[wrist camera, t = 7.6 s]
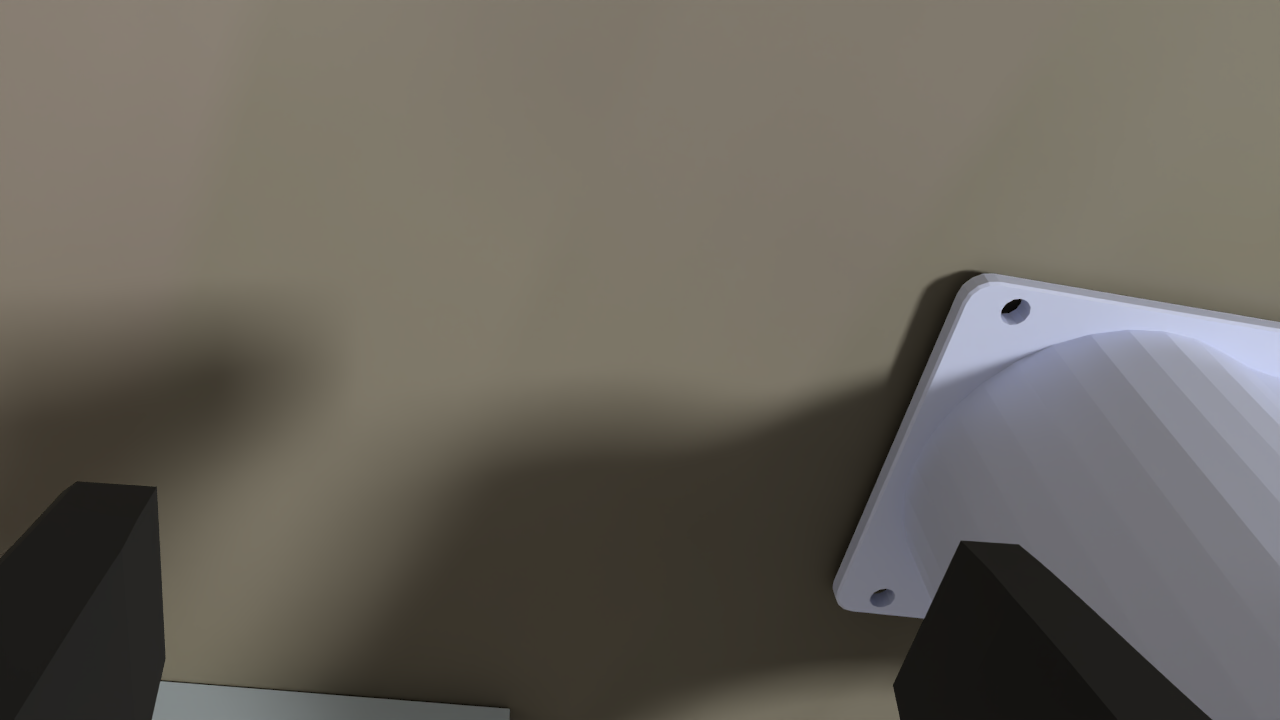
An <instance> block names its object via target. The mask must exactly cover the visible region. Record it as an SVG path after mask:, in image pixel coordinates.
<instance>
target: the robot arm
mask: <svg viewBox="0 0 1280 720" xmlns="http://www.w3.org/2000/svg"><path fill="white" fill-rule="evenodd" d="M1014 299H1022V300H1021V304H1020V305H1019V306H1018V307H1017V309H1015V310H1014V311H1012V312H1010V313H1002V314H1001V311H1002V309H1003V307H1004V306H1005V305H1006V304H1007V303H1008V302H1010V301H1012V300H1014ZM880 589H886V590H885V591H883V592H881V593H876V594H873V593H874V592H876V591H878V590H880ZM833 591H834V594H835V597H836V600H837V603H838V605H839V606H841V607H842V608H843V609H846V610H849V611H855V612H864V613H874V614H884V615H894V616H903V617H913V618H923V619H924V620H923V622H922V624H921V626H920V629H919V631H918V633H917V635H916V637H915V639H914V641H913V643H912V646H911V648H910V650H909V652H908V654H907V656H906V658H905V661H904V663H903V665H902V667H901V669H900V671H899V673H898V676H897V678H896V680H895V682H894V684H893V687H894V692H895V697H896V701H897V706H898V711H899V716H900V720H1280V322H1276V321H1270V320H1264V319H1259V318H1253V317H1247V316H1241V315H1235V314H1229V313H1223V312H1217V311H1212V310H1206V309H1200V308H1194V307H1188V306H1182V305H1176V304H1170V303H1165V302H1159V301H1153V300H1147V299H1141V298H1135V297H1129V296H1123V295H1118V294H1112V293H1106V292H1100V291H1094V290H1088V289H1082V288H1076V287H1070V286H1065V285H1059V284H1053V283H1047V282H1041V281H1035V280H1029V279H1023V278H1018V277H1012V276H1006V275H1000V274H994V273H990V274H980V275H978V276H975V277H972V278H971V279H970V280H968V281H967V282H966V283H964V284H963V285H962V287H961V288H960V290H959V291H958V293H957V295H956V297H955V299H954V302H953V304H952V306H951V309H950V311H949V313H948V316H947V318H946V320H945V323H944V325H943V327H942V330H941V332H940V334H939V337H938V339H937V341H936V344H935V346H934V348H933V351H932V353H931V355H930V358H929V360H928V362H927V365H926V367H925V369H924V372H923V374H922V376H921V379H920V381H919V383H918V386H917V388H916V390H915V393H914V395H913V397H912V400H911V402H910V404H909V407H908V409H907V411H906V414H905V416H904V418H903V421H902V423H901V425H900V428H899V430H898V432H897V435H896V437H895V439H894V442H893V444H892V446H891V449H890V451H889V453H888V456H887V458H886V460H885V463H884V465H883V467H882V470H881V472H880V474H879V477H878V479H877V481H876V484H875V486H874V488H873V491H872V493H871V495H870V498H869V500H868V502H867V505H866V507H865V509H864V512H863V514H862V516H861V519H860V521H859V523H858V526H857V528H856V530H855V533H854V535H853V537H852V540H851V542H850V544H849V547H848V549H847V551H846V554H845V556H844V558H843V561H842V563H841V565H840V568H839V570H838V572H837V575H836V577H835V579H834V582H833ZM164 663H165V639H164V620H163V600H162V580H161V561H160V541H159V521H158V502H157V487H150V486H135V485H120V484H105V483H90V482H76V483H74V484H73V485H72V486H70V487H69V488H67V489H66V490H65V491H63V492H62V493H61V494H60V495H59V496H58V497H57V499H56V500H55V501H54V502H53V503H52V504H51V505H50V506H49V507H48V508H47V509H46V510H45V512H44V513H43V514H42V515H41V516H40V517H39V518H38V519H37V520H36V521H35V522H34V523H33V524H32V525H31V527H30V528H29V529H28V530H27V531H26V532H25V533H24V534H23V535H22V536H21V537H20V538H19V539H18V540H17V541H16V542H15V543H14V545H13V546H12V547H11V548H10V549H9V550H8V551H7V552H6V553H5V554H4V555H3V556H2V557H1V558H0V720H152V716H153V712H154V707H155V703H156V698H157V694H158V690H159V685H160V681H161V676H162V672H163V667H164Z"/></svg>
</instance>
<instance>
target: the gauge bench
mask: <svg viewBox="0 0 1280 720" xmlns="http://www.w3.org/2000/svg"><path fill="white" fill-rule="evenodd" d="M152 720H510V709H506V708H493V707H480V706H468V705H455V704H442V703H430V702H417V701H404V700H392V699H379V698H367V697H354V696H341V695H329V694H316V693H303V692H291V691H278V690H265V689H253V688H240V687H228V686H215V685H202V684H190V683H177V682H164V681H160V685H159V690H158V694H157V698H156V703H155V707H154V712H153V716H152Z"/></svg>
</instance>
